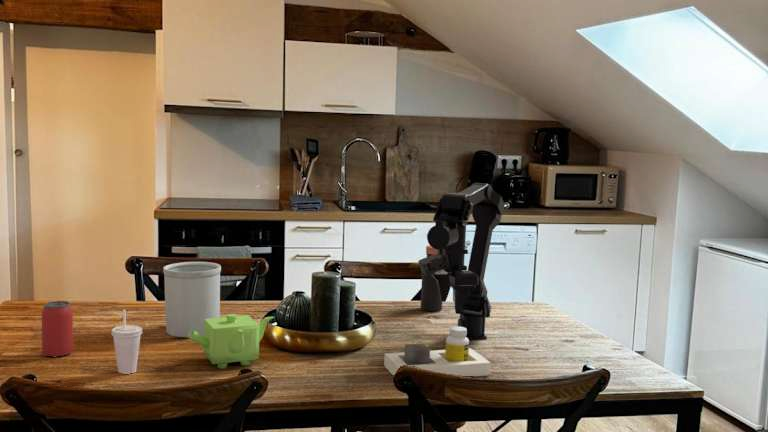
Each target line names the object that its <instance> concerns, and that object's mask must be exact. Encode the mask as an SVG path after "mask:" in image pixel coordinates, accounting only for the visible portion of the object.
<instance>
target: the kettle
mask: <svg viewBox="0 0 768 432" xmlns="http://www.w3.org/2000/svg"><path fill="white" fill-rule="evenodd" d="M274 318H275V316H267V317H264V318H262V320H261V321H260V323H258V322H257V321H255V320H254V319H253V318H252V317H251V316H250V315H248V314H246V315H245V314H244V315H237V314H235V313H230V314H226V315H225V316H222V317H221V316H220V318H209V319H204V336H202V335H201V334H199V333H197V332H196V331H192V332H191V333H190V335H189V337H188V339H190V340H191V341H193V342H195V343H197V344H198V345H200V346H201V347H203V354H204V355H205V357H207V359H208V360H209V361H210V363H211V364H212V365H217V367H216V368H218V369H226V368H228V364H229V363H236V362H237V363H239V362H240V365H241V366H244V365H247V366H250V365H251V362H250V361H255V360H260V359H259V358H260V342H261V340H262V339H263V337H264V333H265V330H266V327H267V324H268V323H269V322H270V321H271V320H272V319H274Z"/></svg>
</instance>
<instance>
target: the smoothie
mask: <svg viewBox="0 0 768 432" xmlns="http://www.w3.org/2000/svg"><path fill="white" fill-rule="evenodd" d="M126 313H127V311H126V308H125V309H122V325H119V326H116V327H114V328H112V329H111V336H112V338H113V343H114V344H113V345H114V352H115V357H116V358H115V359H116V365H117V366H116V367H117V372H119V373H123V374H129V375H131V374H130V373H133V374H135V373H136V372H137V369H138V368H137V366H138V360H139V359H138V357H139V352H140V343H141V342H140V341H141V337H142V336H141V335H142V334H143V327H141V326H140V325H133V324H129V325H127V322H126V321H127V320H126V319H127V318H126V317H127V316H126ZM134 372H135V373H134ZM119 373H118V374H119Z"/></svg>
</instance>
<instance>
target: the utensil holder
mask: <svg viewBox="0 0 768 432" xmlns="http://www.w3.org/2000/svg"><path fill="white" fill-rule="evenodd" d="M162 268H163V269H162V270H163V271H162V272H163V274H164V278H163V279H164V309H165V311H164V312H165V328H166V333H167V335H170V336H172V337H177V338H189V335H190V333H191V332H192V331H196V332H197V333H199V334H201V335H202V336H204V319H209V318H220V317H221V271H222V266H221V264H219V263H216V262H210V261H209V262H208V261H184V262H182V261H181V262H176V263H170V264H167V265H164V266H163V267H162Z"/></svg>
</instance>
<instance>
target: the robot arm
mask: <svg viewBox="0 0 768 432" xmlns="http://www.w3.org/2000/svg"><path fill="white" fill-rule="evenodd" d="M504 213H505V202H504V200H503V197H502V195H501V194H499V193H498V192H496V191H495V190H494V189H493V187H492V184H489V183H481V182H474V183H471V186H469V187H467V188H465V189H463V190H461V191H460V192H445V193H443V194H442V196H441V197H440V198H439V200H438V204H437V207H436V210H435V213H434V215H433V218H432V220H433V222H435V224H434V225H433V226H432V227H430V228H429V230H428V232H427V234H426V238H427V239H426V240H427V242H428V246H429V245H430V246H431V247H433V248H434V249H437V250H438V253H437V254H435V255H431V256H428V257H427V256H426V257H423V258H421V259H418V261H417V262H418V265H419V268H420V271H421V274H422V273H424V274H425V275H427V276H429V275H432V276H433V277H434V278H435V279H436V281H437V285H438V289H439V294H440V298H441V301H442V303H444V302H446V301H447V298H448V296H449V294H450V290H451V289H452V290H453V293H454V295H453V296H454V298H453V302H454V311H455V313H454V314H456V315H459V318H457V326H460V327H464V328H466V329H467V335H466V336H465V337H467V338H468V339H469V341H470V340H483V339H484V340H486V339H488V336H486V335H485V330H486V318H490V317H491V310H492V306H491V303H490V301H489V298H488V289H487V286H486V284H485V282H484V280H485V276H486V275H485V273H486V269H487V264H488V263H487V262H488V257H489V253H490V246H491V241H492V235H493V231H494V229H495V228H497V226H498V225H499V224H500V222H501V220H502V216H503V215H504ZM470 216H472V218H473V221H474V224H475V230H474V236H473V240H472V247H471V251H470V254H469V250H468V249H467V248H466V232H467V225H468V221H469V219H470ZM468 254H469V255H470V257H469V262H468V266H467V265H465V256H466V255H468Z"/></svg>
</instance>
